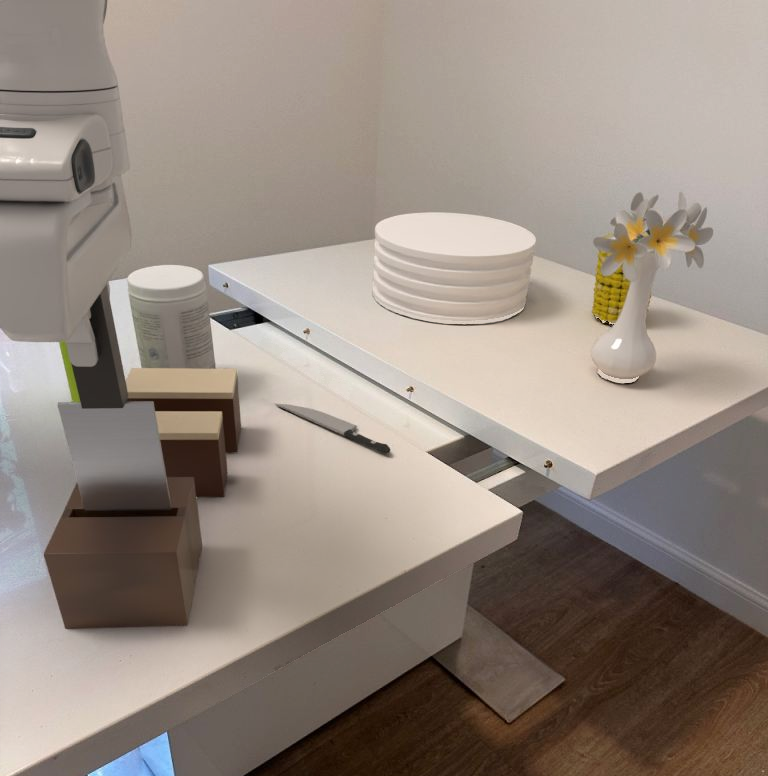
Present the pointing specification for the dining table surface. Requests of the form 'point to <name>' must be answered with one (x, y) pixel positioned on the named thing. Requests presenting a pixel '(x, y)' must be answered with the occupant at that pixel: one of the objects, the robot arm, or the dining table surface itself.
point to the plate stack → (452, 265)
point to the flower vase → (643, 276)
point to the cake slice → (194, 449)
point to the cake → (191, 394)
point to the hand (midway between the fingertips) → (92, 352)
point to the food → (610, 291)
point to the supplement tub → (171, 317)
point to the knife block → (126, 562)
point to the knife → (113, 431)
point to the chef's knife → (334, 425)
